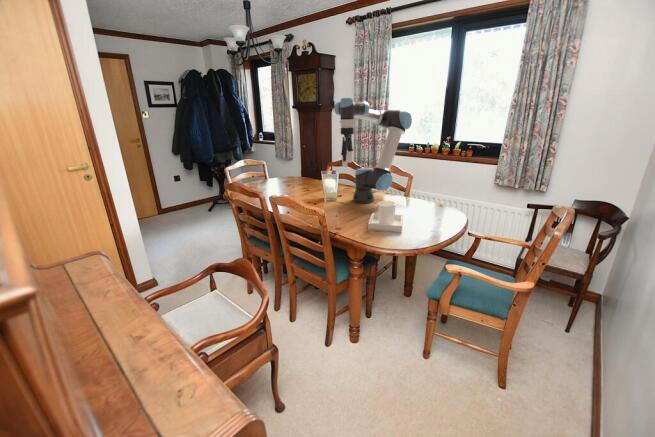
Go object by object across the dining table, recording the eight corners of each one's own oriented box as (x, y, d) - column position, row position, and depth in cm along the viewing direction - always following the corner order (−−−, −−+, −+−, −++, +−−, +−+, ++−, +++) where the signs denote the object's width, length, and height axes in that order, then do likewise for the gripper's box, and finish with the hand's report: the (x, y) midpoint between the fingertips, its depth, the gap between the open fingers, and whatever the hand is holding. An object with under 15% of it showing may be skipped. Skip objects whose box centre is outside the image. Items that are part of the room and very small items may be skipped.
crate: (372, 218, 186) (372, 212, 184) (402, 221, 181) (403, 214, 180) (367, 230, 170) (368, 223, 168) (401, 232, 165) (401, 226, 164)
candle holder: (394, 227, 170) (395, 206, 166) (376, 226, 172) (377, 206, 167) (394, 221, 179) (395, 201, 174) (377, 220, 181) (378, 200, 176)
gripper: (345, 125, 187) (345, 160, 195) (335, 129, 165) (336, 168, 172) (357, 125, 185) (357, 160, 193) (349, 128, 163) (349, 168, 170)
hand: (347, 164), depth 182 cm, fingers open, 13 cm apart
